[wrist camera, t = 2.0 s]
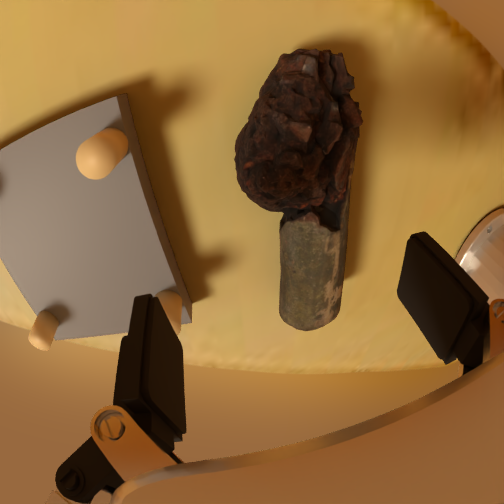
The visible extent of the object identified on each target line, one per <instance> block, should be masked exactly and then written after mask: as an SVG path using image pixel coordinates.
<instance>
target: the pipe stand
mask: <svg viewBox="0 0 504 504" xmlns="http://www.w3.org/2000/svg"><path fill="white" fill-rule="evenodd" d="M0 258H1V260H2V262H3V263H4V265H5V267H6V269H7V270H8V272H9V274H10V275H11V277H12V279H13V280H14V282H15V284H16V285H17V287H18V288H19V290H20V291H21V293H22V295H23V296H24V298H25V299H26V301H27V302H28V304H29V305H30V306H31V308H32V309H33V311H34V312H35V314H36V315H37V318H36V320H35V323H34V325H33V327H32V329H31V331H30V334H29V336H28V338H29V341H30V342H31V344H32V345H34V346H35V347H36V348H38V349H40V350H44V351H46V350H49V349H50V346H51V344H52V341H53V338H54V339H55V340H64V339H75V338H84V337H94V336H102V335H111V334H119V333H127V332H128V331H129V325H130V319H131V313H132V307H133V302H134V298H135V296H140V295H145V294H152V296H153V297H158V298H159V300H160V302H161V305H162V307H163V309H164V311H165V313H166V315H167V317H168V319H169V321H170V323H171V325H172V327H173V329H174V331H175V333H176V335H178V334H179V333H180V331H181V324H188V323H192V303H191V300H190V297H189V295H188V292H187V290H186V287H185V284H184V282H183V279H182V276H181V273H180V271H179V268H178V265H177V262H176V260H175V257H174V254H173V251H172V248H171V245H170V242H169V239H168V236H167V234H166V231H165V228H164V225H163V221H162V218H161V215H160V212H159V209H158V206H157V203H156V200H155V196H154V193H153V190H152V187H151V183H150V180H149V177H148V173H147V170H146V166H145V163H144V159H143V156H142V152H141V148H140V145H139V141H138V137H137V133H136V130H135V126H134V122H133V118H132V114H131V110H130V106H129V101H128V97H127V93H126V94H122V95H119V96H115V97H112V98H110V99H107V100H104V101H101V102H99V103H96V104H93V105H91V106H88V107H86V108H83V109H81V110H78V111H76V112H74V113H71V114H69V115H67V116H65V117H62V118H60V119H58V120H56V121H54V122H51V123H49V124H47V125H45V126H43V127H41V128H39V129H37V130H35V131H33V132H31V133H29V134H28V135H26V136H24V137H22V138H20V139H18V140H17V141H15V142H13V143H11V144H9V145H8V146H6V147H4V148H3V149H1V150H0Z"/></svg>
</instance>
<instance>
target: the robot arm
mask: <svg viewBox="0 0 504 504" xmlns="http://www.w3.org/2000/svg"><path fill="white" fill-rule="evenodd" d="M397 295H398V298H399V299H400V301H401V302H402V304H403V305H404V306H405V308H406V309H407V311H408V312H409V314H410V315H411V317H412V318H413V319H414V321H415V322H416V324H417V325H418V327H419V328H420V330H421V331H422V333H423V334H424V336H425V337H426V339H427V341H428V342H429V344H430V345H431V347H432V348H433V350H434V351H435V353H436V355H437V356H438V358H440V359H443V361H444V363H445V364H448V363H450V362H452V361H454V360H456V358H458V360H459V361H460V362H459V370H458V378H457V379H456V380H454V381H452V382H451V383H448V384H447V385H445V386H443V387H441V388H439V389H437V390H435V391H433V392H431V393H429V394H427V395H425V396H423V397H421V398H419V399H417V400H415V401H413V402H410V403H408V404H406V405H404V406H402V407H399V408H397V409H394V410H392V411H390V412H387V413H385V414H383V415H380V416H378V417H375V418H373V419H370V420H367V421H365V422H362V423H359V424H356V425H354V426H351V427H348V428H345V429H342V430H339V431H336V432H333V433H329V434H326V435H323V436H319V437H316V438H313V439H309V440H305V441H301V442H297V443H294V444H290V445H285V446H281V447H277V448H273V449H268V450H263V451H258V452H252V453H247V454H242V455H236V456H230V457H224V458H218V459H210V460H203V461H197V462H189V463H184V462H183V461H182V460H181V459H180V458H179V457H178V456H177V455H176V454H175V453H174V452H173V450H174V442H179V441H182V434H185V433H186V416H185V415H186V414H185V396H184V369H183V349H182V345H181V342H180V341H179V339H178V337H177V335H176V333H175V331H174V329H173V327H172V325H171V323H170V321H169V319H168V317H167V315H166V313H165V311H164V309H163V307H162V305H161V302H160V300H159V298H158V297H153V296H152V294H145V295H140V296H135V298H134V302H133V307H132V313H131V319H130V325H129V331H128V335H127V336H124V337H123V338H122V341H121V346H120V352H119V359H118V366H117V373H116V382H115V390H114V399H113V405H109V406H105V407H103V408H102V409H100V410H98V411H97V412H96V413H95V415H94V416H93V418H92V420H91V424H90V432H91V435H92V436H91V437H90V438H89V439H88V440H87V441H86V442H85V443H84V444H83V445H82V446H81V447H79V448H78V449H77V450H76V451H75V452H74V453H73V454H72V455H71V456H70V457H69V458H68V459H67V460H66V461H65V462H64V463H63V464H61V466H60V467H59V468H58V470H57V472H56V478H55V481H56V486H57V490H56V491H54V490H52V492H51V494H50V496H49V498H48V499H47V501H46V503H45V504H504V208H502V209H498V210H496V211H494V212H492V213H491V214H489V215H488V216H487V217H485V218H484V219H483V220H482V221H481V222H480V223H479V224H478V225H477V226H476V227H475V229H474V230H473V231H472V232H471V233H470V235H469V236H468V238H467V239H466V241H465V242H464V244H463V245H462V247H461V249H460V251H459V252H458V254H457V257H456V259H455V260H454V259H453V258H452V257H451V256H450V255H449V254H448V253H447V252H446V251H445V250H444V249H443V248H442V247H441V246H440V245H439V244H438V243H437V242H436V241H435V240H434V239H433V238H432V237H431V236H430V235H429V234H428V233H426V232H419V233H415V234H412V235H411V236H410V239H408V241H407V245H406V251H405V256H404V261H403V266H402V271H401V275H400V280H399V284H398V288H397Z"/></svg>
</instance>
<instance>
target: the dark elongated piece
mask: <svg viewBox="0 0 504 504" xmlns="http://www.w3.org/2000/svg"><path fill="white" fill-rule="evenodd" d="M354 88H355V87H354V77H353V76H351V75H350V74H349V73H348V72H347V70H346V66H345V61H344V58H343V54H342V53H338V55H335V54H333V53H331V51H330V50H323V51H318V50H317V49H313V50H305V49H297V50H296V51H294V52H292V53H291V54H282V55H281V56H280V58H279V60H278V63H277V64H276V66H275V68H274V69H273V70H272V71H271V73H270V74H269V76H268V78H267V79H266V81H265V83H264V85H263V86H262V87H261V89H260V92H259V99H258V100H257V101H256V102H255V105H254V107H253V110H252V112H251V114H250V116H249V117H248V120H249V121H248V123H247V124H246V125H245V126H244V127H243V129H242V130H241V132H240V133H239V135H238V137H237V139H236V143H235V152H236V156H235V159H234V160H235V163H236V171H237V180H238V183H239V185H240V187H241V189H242V191H243V192H245V193H246V194H247V197H248V198H249V199H251V200H252V201H253V202H255V203H256V204H258V205H259V206H260V207H262V208H264V209H266V210H268V211H272V212H283V213H284V214H283V217H282V219H281V221H280V229H279V233H280V263H281V279H280V300H279V313H280V316H281V318H282V319H283V321H284V322H286V323H287V324H289V325H290V326H292V327H294V328H296V329H298V330H303V331H310V330H315V329H318V328H320V327H323V326H325V325H326V324H328V323H330V322H331V321H332V320H334V319H335V318H336V317H337V315H338V313H339V311H340V306H341V296H342V288H343V281H344V269H345V259H346V249H347V236H348V218H349V202H350V189H351V176H352V173H353V169H354V161H355V152H356V146H357V140H358V137H359V126H360V125H362V123H363V120H362V117H361V112H362V111H361V110H360V109H359V102H354V101H353V100H352V99H351V97H350V94H349V93H350V90H352V89H354Z"/></svg>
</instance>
